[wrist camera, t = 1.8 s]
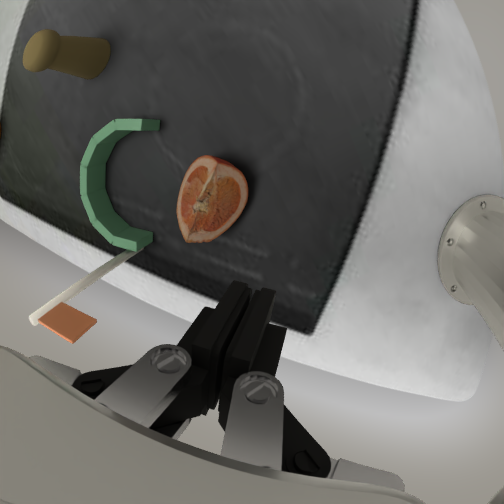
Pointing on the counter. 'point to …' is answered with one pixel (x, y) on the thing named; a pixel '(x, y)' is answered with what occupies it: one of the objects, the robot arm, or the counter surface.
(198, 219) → the fruit slice
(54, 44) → the cork
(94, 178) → the green segmented arc
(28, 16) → the counter surface
